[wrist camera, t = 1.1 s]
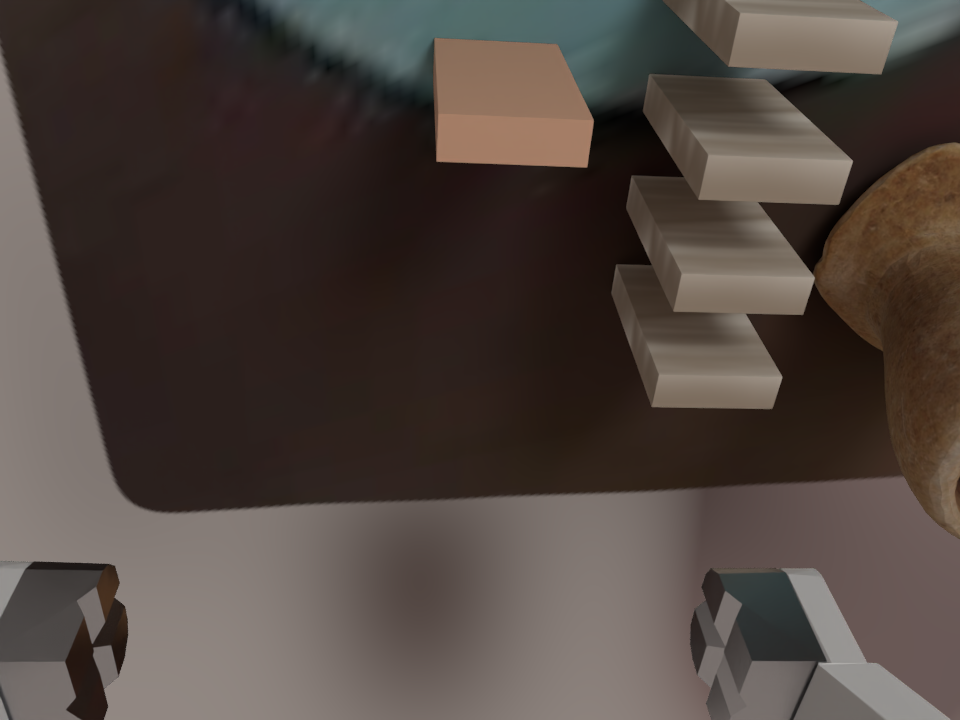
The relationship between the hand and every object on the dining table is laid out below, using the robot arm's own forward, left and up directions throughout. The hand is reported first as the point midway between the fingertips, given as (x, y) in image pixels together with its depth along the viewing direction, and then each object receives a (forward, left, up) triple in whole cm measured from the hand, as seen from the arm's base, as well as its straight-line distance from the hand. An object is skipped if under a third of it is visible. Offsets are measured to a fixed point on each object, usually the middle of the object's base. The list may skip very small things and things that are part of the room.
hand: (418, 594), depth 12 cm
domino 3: (+1, +12, -28) cm, 30 cm away
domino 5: (+10, +12, -28) cm, 32 cm away
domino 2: (-3, +12, -28) cm, 31 cm away
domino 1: (0, +3, -28) cm, 28 cm away
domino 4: (+6, +12, -28) cm, 31 cm away
